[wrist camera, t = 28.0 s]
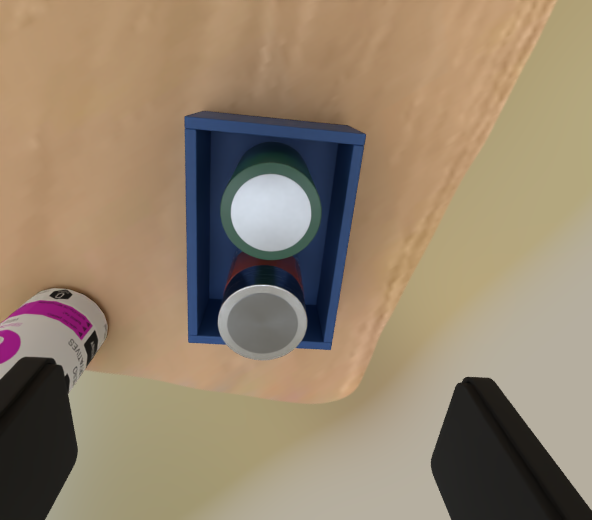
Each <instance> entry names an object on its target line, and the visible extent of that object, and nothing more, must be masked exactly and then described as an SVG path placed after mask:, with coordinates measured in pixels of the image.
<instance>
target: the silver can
mask: <svg viewBox="0 0 592 520" xmlns="http://www.w3.org/2000/svg"><path fill="white" fill-rule="evenodd" d="M218 329H219V332H220V335H221V337H222V339H223V341H224V342H225V343H226V345H227V346H228V347H229V348H230V349H232V350H233V351H234V352H236V353H237V354H239V355H241V356H243V357H246V358H250V359H254V360H271V359H276V358H279V357H282V356H284V355H286V354H288V353H289V352H291V351H292V350H294V349H295V348H296V347H297V346H298V345H299V343H300V342H301V341H302V339H303V337H304V335H305V333H306V329H307V314H306V307H305V299H304V291H303V284H302V276H301V271H300V264H299V258H298V255H297V254H295V255H293V256H290V257H288V258H284V259H280V260H264V259H259V258H255V257H252V256H250V255H248V254H246V253H244V252H243V251H241V250H240V249H238V248H237V249H236V251H235V253H234V256H233V260H232V264H231V267H230V271H229V274H228V278H227V282H226V286H225V290H224V294H223V299H222V303H221V307H220V311H219V315H218Z"/></svg>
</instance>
